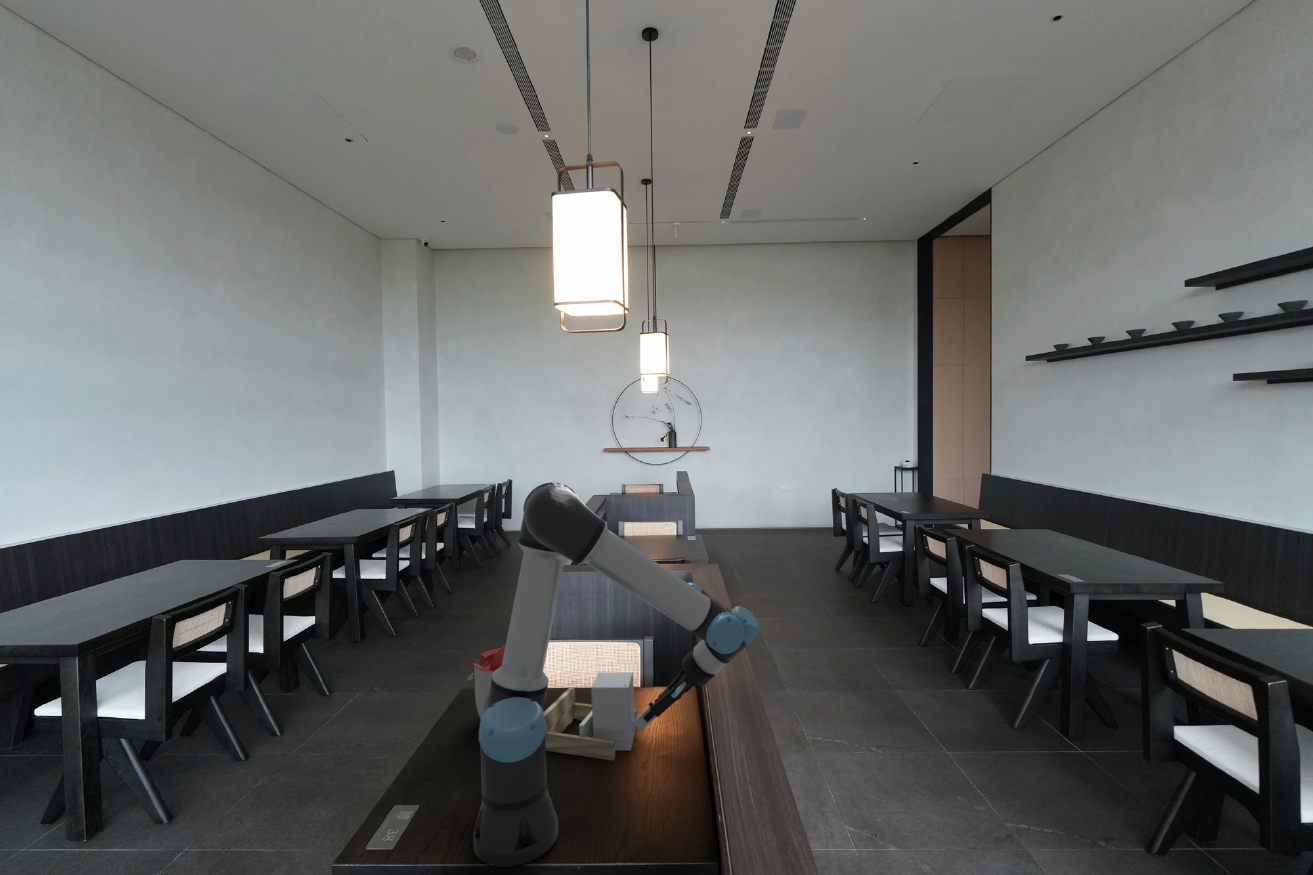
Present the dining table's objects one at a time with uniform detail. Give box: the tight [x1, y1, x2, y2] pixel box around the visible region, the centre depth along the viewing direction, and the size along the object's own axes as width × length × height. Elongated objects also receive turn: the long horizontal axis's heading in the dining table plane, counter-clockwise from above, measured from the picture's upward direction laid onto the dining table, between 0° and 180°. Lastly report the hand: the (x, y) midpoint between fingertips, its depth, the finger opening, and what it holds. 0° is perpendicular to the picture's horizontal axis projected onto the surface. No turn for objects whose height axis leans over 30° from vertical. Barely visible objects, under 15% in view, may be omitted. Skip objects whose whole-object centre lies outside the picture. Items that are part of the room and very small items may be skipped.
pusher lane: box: [543, 686, 638, 761], centre depth 143 cm, size 16×18×8 cm
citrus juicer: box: [467, 645, 506, 721], centre depth 151 cm, size 16×17×20 cm
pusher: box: [578, 711, 593, 738], centre depth 143 cm, size 13×1×6 cm, turn 162°
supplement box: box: [590, 671, 636, 752], centre depth 141 cm, size 9×9×15 cm
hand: (638, 725), depth 140 cm, fingers closed
